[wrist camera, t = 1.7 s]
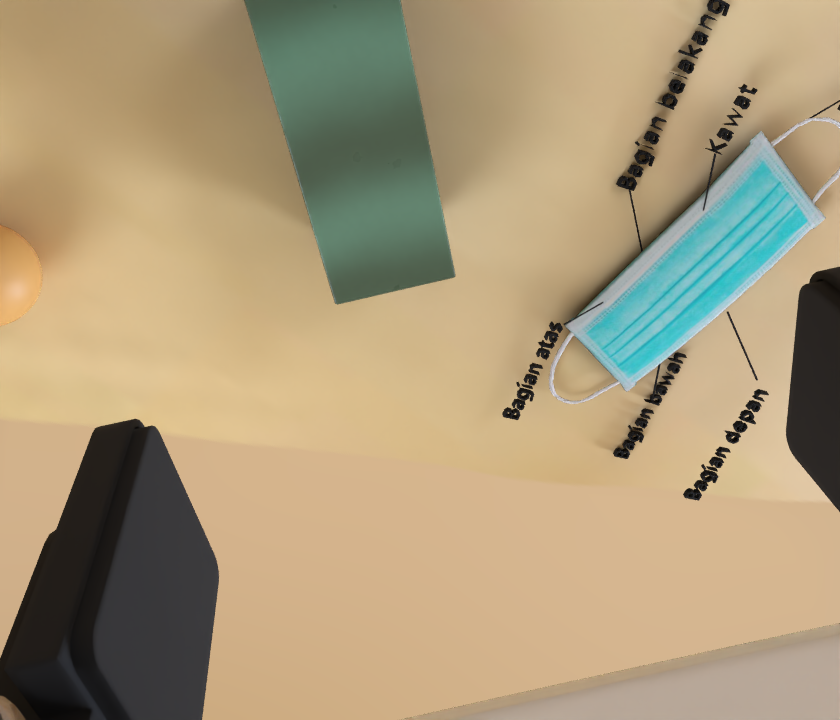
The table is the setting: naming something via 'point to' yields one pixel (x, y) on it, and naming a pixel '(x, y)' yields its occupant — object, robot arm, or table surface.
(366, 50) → the teal sanding sponge
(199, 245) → the table surface
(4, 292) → the figurine
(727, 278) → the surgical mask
